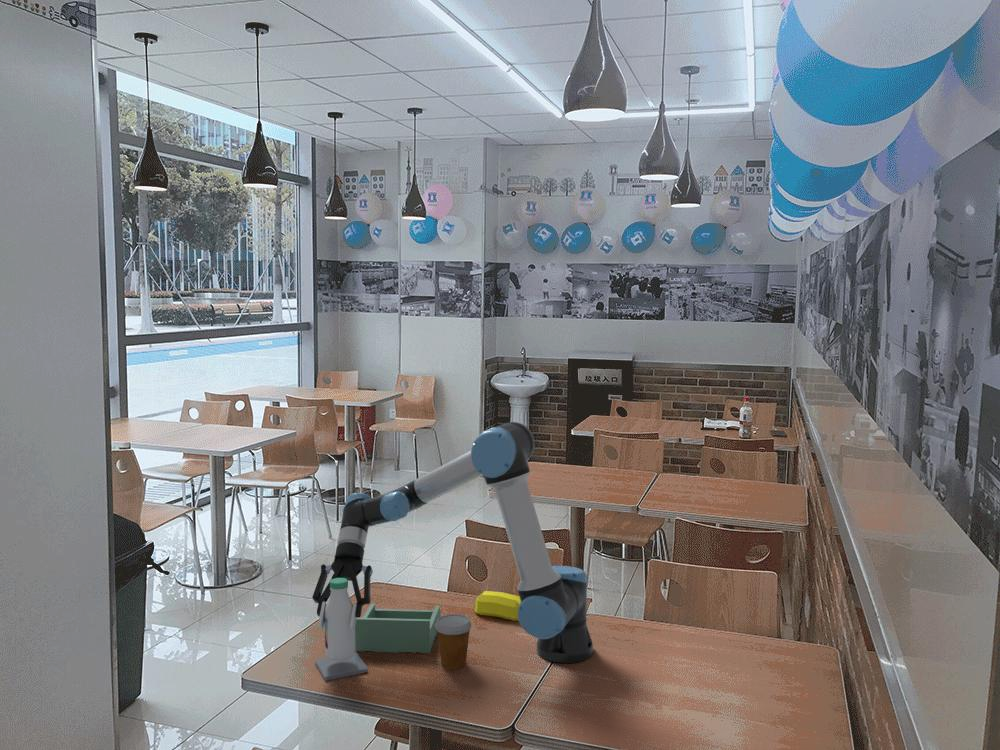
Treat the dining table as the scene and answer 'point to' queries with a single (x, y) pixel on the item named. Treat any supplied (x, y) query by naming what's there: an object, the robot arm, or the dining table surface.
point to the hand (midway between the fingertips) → (336, 628)
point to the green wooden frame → (396, 630)
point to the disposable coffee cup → (453, 639)
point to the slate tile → (340, 667)
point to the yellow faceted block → (498, 605)
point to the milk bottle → (339, 622)
